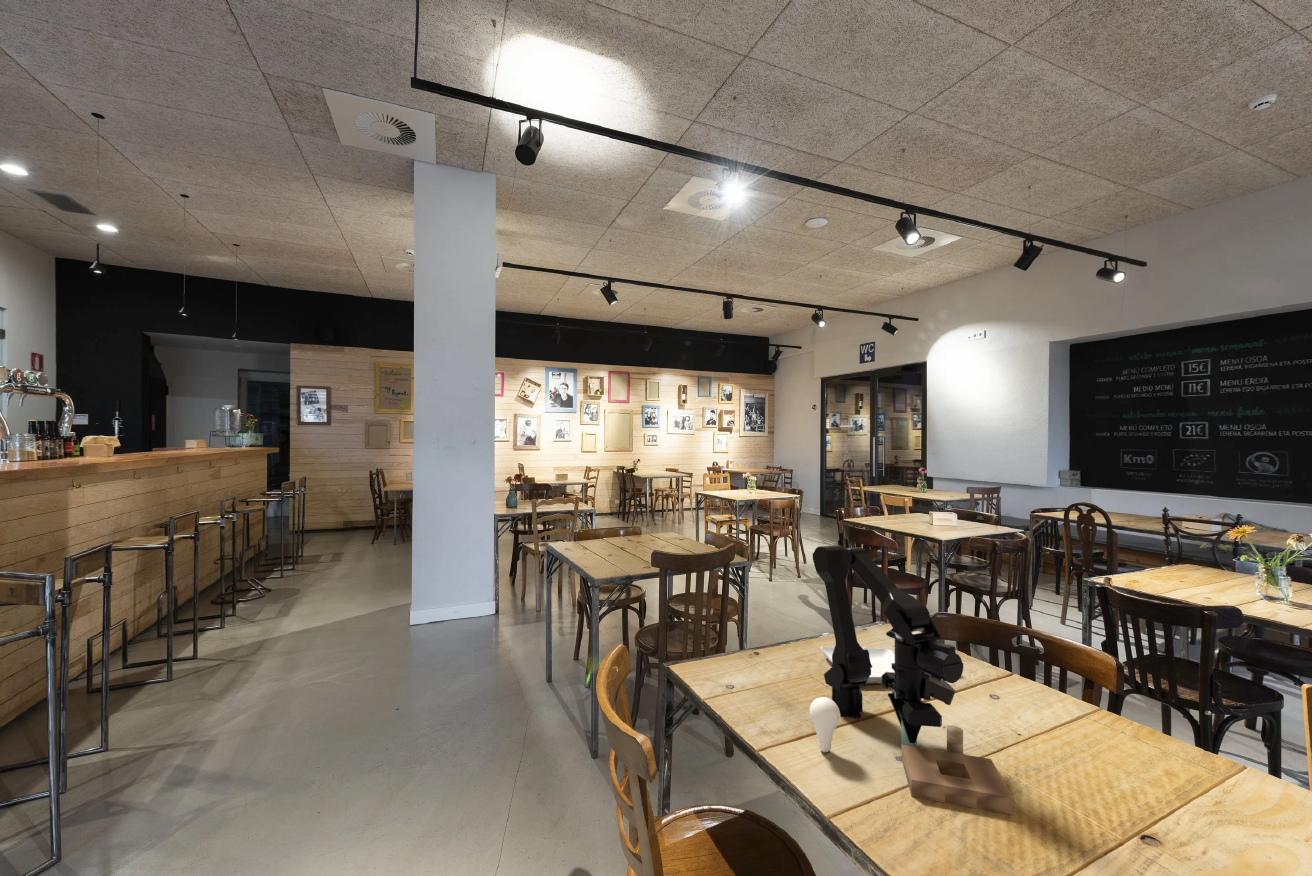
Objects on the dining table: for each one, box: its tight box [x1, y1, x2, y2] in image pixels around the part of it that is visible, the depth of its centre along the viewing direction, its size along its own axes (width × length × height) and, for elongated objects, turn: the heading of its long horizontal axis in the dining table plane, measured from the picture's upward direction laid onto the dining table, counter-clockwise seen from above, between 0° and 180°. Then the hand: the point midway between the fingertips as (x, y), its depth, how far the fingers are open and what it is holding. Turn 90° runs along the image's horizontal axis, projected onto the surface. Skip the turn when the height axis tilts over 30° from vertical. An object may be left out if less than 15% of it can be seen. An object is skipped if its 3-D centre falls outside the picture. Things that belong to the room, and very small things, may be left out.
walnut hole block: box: [901, 745, 1013, 816], centre depth 100 cm, size 16×12×3 cm
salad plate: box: [820, 646, 895, 684], centre depth 151 cm, size 21×21×3 cm
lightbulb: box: [809, 696, 841, 753], centre depth 111 cm, size 6×6×11 cm
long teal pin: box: [900, 720, 918, 751], centre depth 111 cm, size 3×3×8 cm
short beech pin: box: [946, 724, 964, 755], centre depth 111 cm, size 3×3×5 cm
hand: (909, 738), depth 111 cm, fingers closed on long teal pin, 3 cm apart
